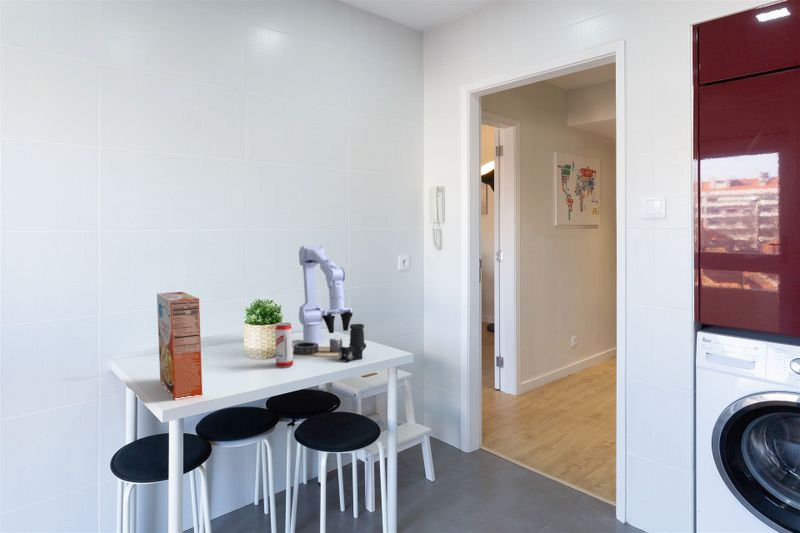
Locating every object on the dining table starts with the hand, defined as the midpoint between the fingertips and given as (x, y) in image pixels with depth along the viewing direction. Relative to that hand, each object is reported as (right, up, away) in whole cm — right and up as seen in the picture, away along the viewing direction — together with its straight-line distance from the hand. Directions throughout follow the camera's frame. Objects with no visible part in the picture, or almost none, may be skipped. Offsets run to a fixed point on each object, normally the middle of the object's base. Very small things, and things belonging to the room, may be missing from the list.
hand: (338, 331), depth 202 cm
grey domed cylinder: (-2, -9, +7) cm, 12 cm away
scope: (+7, -11, -6) cm, 14 cm away
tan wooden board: (-8, -10, +7) cm, 14 cm away
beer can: (-19, -11, -13) cm, 26 cm away
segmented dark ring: (-14, -9, +6) cm, 18 cm away
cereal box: (-46, -13, -40) cm, 62 cm away
